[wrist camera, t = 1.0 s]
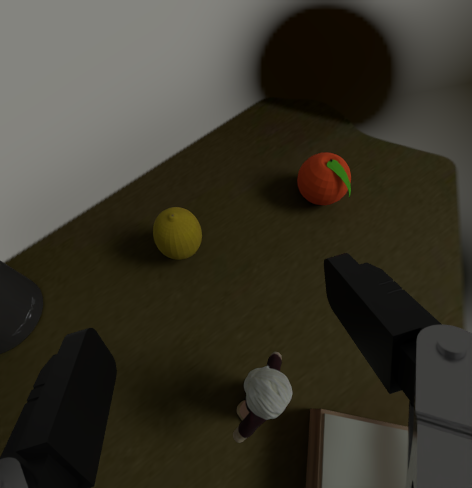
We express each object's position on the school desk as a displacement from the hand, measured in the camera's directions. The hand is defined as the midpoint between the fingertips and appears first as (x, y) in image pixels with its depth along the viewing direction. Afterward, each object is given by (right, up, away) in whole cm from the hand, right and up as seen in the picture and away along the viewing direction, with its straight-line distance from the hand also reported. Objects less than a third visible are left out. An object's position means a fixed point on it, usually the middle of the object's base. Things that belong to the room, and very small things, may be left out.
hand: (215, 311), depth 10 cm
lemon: (-6, +1, +29) cm, 29 cm away
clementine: (+13, +9, +33) cm, 37 cm away
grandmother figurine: (+3, -14, +21) cm, 25 cm away
